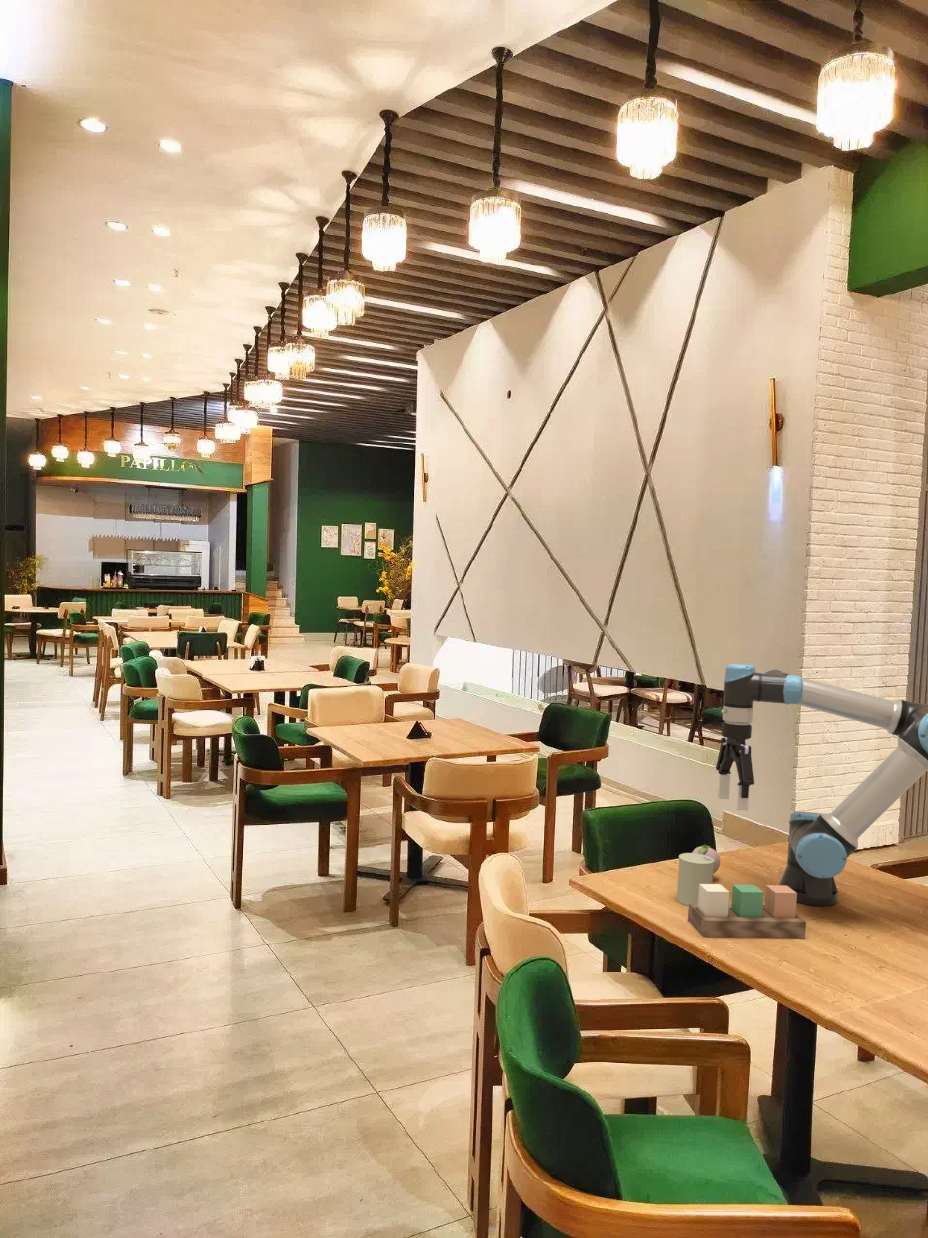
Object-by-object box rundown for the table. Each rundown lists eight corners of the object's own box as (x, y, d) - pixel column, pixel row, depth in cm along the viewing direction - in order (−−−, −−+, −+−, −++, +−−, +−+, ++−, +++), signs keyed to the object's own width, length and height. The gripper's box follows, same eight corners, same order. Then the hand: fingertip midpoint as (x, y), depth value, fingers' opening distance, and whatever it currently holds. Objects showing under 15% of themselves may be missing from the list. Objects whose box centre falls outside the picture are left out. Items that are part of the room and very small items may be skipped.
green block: (752, 913, 218) (753, 885, 218) (761, 921, 213) (763, 892, 213) (730, 912, 218) (732, 884, 218) (739, 920, 213) (741, 892, 212)
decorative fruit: (719, 885, 248) (721, 850, 248) (689, 881, 250) (691, 846, 250) (719, 875, 257) (721, 841, 257) (690, 871, 259) (692, 837, 259)
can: (713, 909, 229) (716, 863, 228) (676, 905, 230) (679, 859, 230) (710, 897, 238) (713, 853, 237) (675, 893, 239) (678, 849, 239)
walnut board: (784, 921, 222) (785, 905, 222) (805, 938, 211) (806, 922, 211) (687, 919, 220) (688, 904, 220) (703, 937, 209) (704, 920, 209)
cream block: (718, 912, 218) (720, 884, 217) (727, 920, 212) (729, 891, 212) (697, 912, 217) (699, 884, 217) (705, 920, 212) (707, 891, 212)
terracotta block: (784, 913, 219) (786, 885, 219) (795, 921, 214) (796, 893, 214) (764, 913, 219) (765, 885, 219) (773, 921, 213) (775, 892, 213)
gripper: (706, 715, 245) (702, 793, 245) (742, 729, 221) (737, 815, 221) (732, 716, 245) (728, 794, 246) (771, 730, 222) (766, 816, 222)
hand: (732, 804), depth 234 cm, fingers open, 12 cm apart
